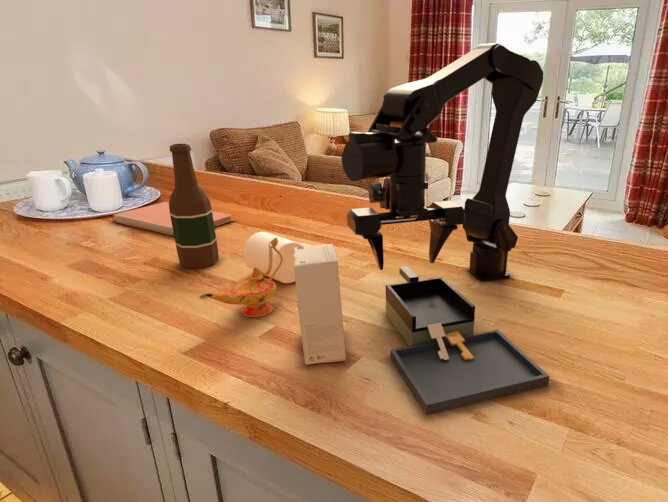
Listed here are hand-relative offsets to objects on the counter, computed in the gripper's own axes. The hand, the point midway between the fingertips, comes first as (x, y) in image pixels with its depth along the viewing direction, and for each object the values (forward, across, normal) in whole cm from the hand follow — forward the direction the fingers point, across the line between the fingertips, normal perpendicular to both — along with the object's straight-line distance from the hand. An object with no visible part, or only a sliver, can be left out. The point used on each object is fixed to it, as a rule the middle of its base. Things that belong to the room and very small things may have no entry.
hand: (406, 265), depth 83 cm
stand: (+7, 0, +9) cm, 12 cm away
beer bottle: (+7, +34, -33) cm, 48 cm away
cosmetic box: (+7, +17, +10) cm, 21 cm away
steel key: (+5, +2, +18) cm, 18 cm away
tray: (+7, 0, +23) cm, 24 cm away
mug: (+7, +18, -21) cm, 28 cm away
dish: (+4, 0, +7) cm, 8 cm away
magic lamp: (+7, +26, -5) cm, 27 cm away
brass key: (+6, -1, +18) cm, 19 cm away
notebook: (+7, +41, -67) cm, 79 cm away
